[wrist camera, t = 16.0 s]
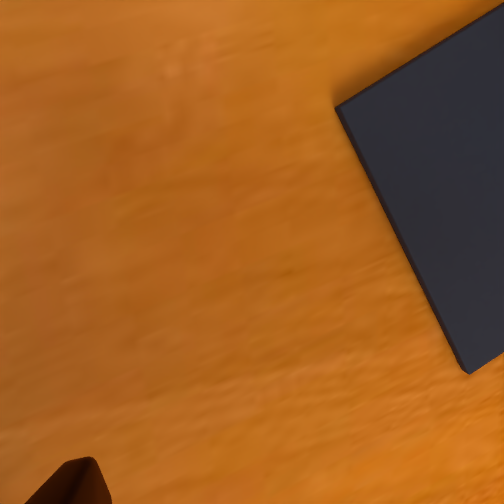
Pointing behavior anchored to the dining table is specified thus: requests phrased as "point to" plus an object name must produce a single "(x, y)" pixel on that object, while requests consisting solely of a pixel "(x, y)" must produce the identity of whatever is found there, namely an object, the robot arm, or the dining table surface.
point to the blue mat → (445, 177)
